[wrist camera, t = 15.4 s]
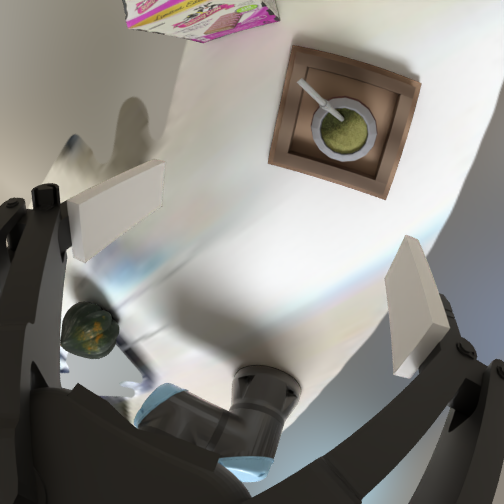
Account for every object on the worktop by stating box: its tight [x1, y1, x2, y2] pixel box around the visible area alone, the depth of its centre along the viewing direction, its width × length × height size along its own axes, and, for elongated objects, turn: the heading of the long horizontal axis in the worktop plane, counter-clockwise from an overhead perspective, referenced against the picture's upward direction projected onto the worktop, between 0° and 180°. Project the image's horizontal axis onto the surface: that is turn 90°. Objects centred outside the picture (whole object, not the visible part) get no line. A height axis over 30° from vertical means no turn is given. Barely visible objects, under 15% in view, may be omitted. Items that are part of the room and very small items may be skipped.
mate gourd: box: [297, 78, 378, 162], centre depth 27 cm, size 8×8×15 cm
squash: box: [60, 302, 119, 359], centre depth 65 cm, size 14×15×15 cm
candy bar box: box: [122, 0, 280, 43], centre depth 24 cm, size 11×5×16 cm, turn 103°
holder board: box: [268, 45, 422, 200], centre depth 33 cm, size 16×16×3 cm
